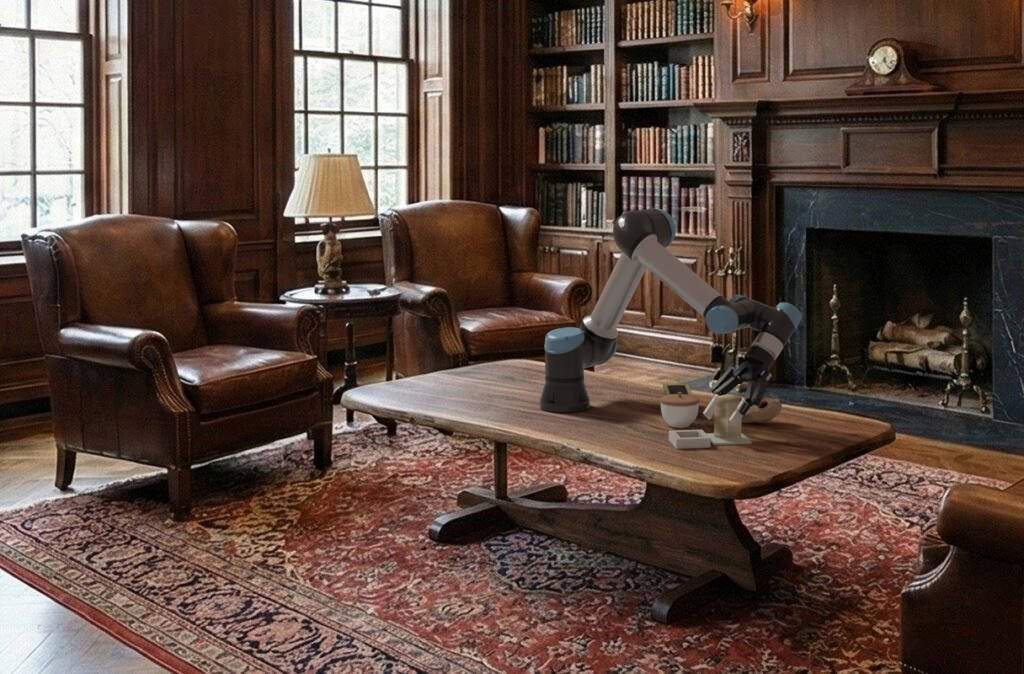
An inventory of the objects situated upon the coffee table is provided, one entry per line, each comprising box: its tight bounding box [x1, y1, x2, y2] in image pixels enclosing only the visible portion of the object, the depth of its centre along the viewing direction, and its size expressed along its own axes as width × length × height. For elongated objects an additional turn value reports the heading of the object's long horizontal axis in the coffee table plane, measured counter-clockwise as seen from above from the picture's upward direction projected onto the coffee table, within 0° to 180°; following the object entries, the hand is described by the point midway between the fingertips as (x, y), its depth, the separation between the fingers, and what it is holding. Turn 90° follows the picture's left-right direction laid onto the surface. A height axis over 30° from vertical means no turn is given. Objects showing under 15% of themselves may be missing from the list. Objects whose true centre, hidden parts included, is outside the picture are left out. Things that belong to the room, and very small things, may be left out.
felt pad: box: [705, 432, 752, 446], centre depth 300 cm, size 10×10×1 cm
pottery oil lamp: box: [741, 397, 783, 424], centre depth 317 cm, size 9×12×7 cm
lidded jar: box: [660, 392, 700, 428], centre depth 316 cm, size 11×11×9 cm
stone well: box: [668, 429, 712, 450], centre depth 297 cm, size 9×9×2 cm
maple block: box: [713, 393, 743, 441], centre depth 300 cm, size 5×5×11 cm
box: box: [662, 383, 694, 396], centre depth 333 cm, size 8×22×5 cm, turn 1°
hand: (719, 419), depth 298 cm, fingers open, 9 cm apart
